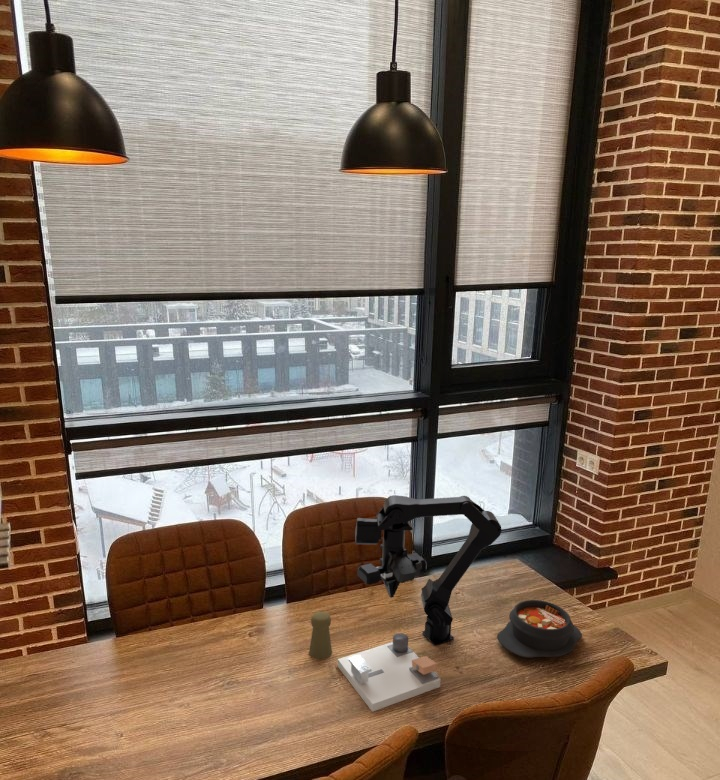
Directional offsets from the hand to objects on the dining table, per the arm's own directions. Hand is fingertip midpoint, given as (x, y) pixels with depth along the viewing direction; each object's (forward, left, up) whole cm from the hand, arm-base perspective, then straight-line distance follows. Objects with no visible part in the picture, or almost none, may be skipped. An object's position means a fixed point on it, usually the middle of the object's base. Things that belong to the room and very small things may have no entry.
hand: (391, 596), depth 167 cm
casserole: (-36, +20, -12) cm, 43 cm away
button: (+2, +8, -10) cm, 13 cm away
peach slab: (+2, +20, -8) cm, 21 cm away
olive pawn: (+20, -2, -12) cm, 24 cm away
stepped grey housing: (+17, +14, -10) cm, 24 cm away
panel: (+9, +14, -12) cm, 21 cm away
